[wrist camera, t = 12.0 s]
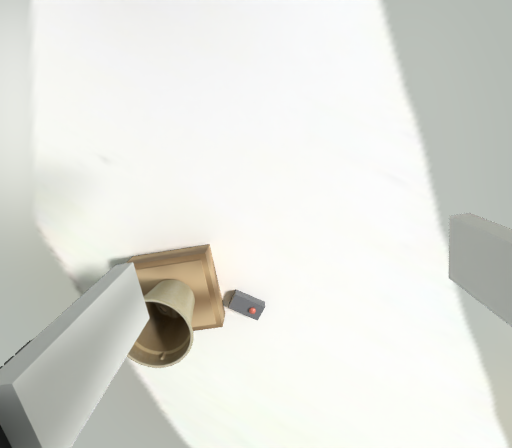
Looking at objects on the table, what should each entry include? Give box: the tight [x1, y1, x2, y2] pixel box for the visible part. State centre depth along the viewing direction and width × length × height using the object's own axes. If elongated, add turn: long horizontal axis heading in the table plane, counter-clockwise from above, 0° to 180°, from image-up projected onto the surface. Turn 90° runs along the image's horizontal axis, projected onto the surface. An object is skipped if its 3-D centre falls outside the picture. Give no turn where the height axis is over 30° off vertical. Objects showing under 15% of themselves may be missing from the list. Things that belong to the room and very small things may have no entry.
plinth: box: [126, 245, 225, 331], centre depth 47 cm, size 12×12×4 cm
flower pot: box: [127, 280, 195, 368], centre depth 41 cm, size 9×9×9 cm
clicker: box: [228, 290, 265, 320], centre depth 48 cm, size 5×3×2 cm, turn 65°
